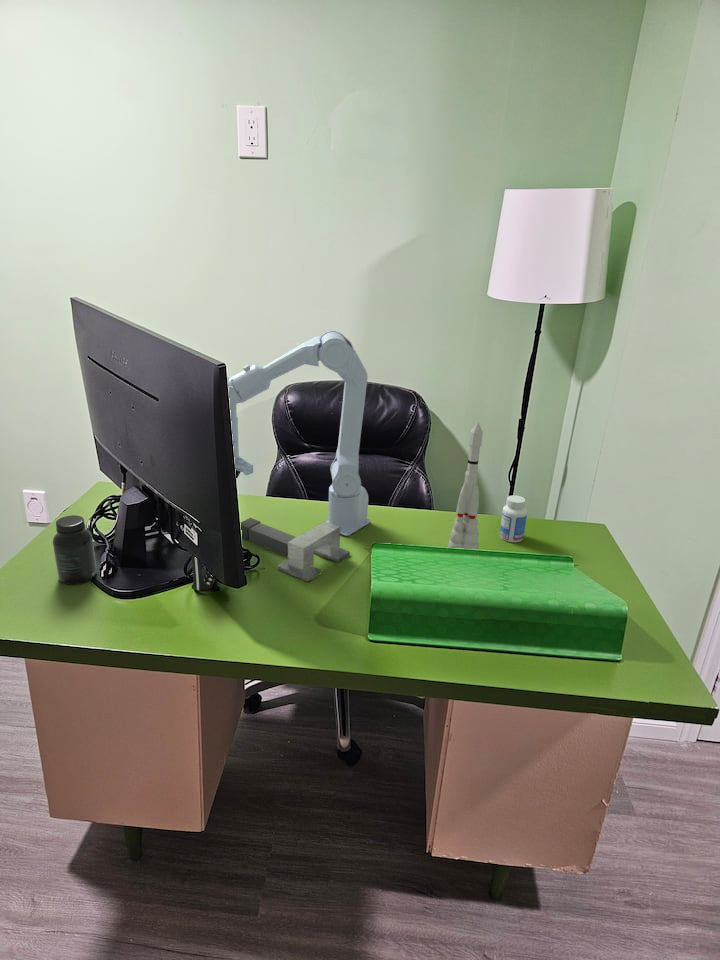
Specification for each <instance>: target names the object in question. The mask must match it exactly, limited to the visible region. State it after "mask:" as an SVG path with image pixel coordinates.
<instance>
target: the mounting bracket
mask: <svg viewBox="0 0 720 960" xmlns="http://www.w3.org/2000/svg"><path fill="white" fill-rule="evenodd" d="M326 521H327V520H325V521H323V522H321V523H320V524H317V525H316V526H314V527H312V528H310V529H309V530H307V531H305V532H303V533H301V534H300V535H298V536H295V537H296V538H294V539H293V540H291V541H289V542H288V556H287V559H286V560H285V561H283V562H281V563H279V564H278V565H277V566H276V570H278V571H280V572H282V571H283V573H285V572H286V573H285V574H287V573H288V574H287V575H289V574H290V576H292V577H294V576H295V577H294V578H296V577H297V578H296V579H299V578H300V579H299V580H301V579H302V580H301V581H303V580H304V581H303V582H305V581H310V580H311V581H312V579H313V578H314V579H316V578H317V577H319V576H320V575H321V574H322V570H321V569H319V568H316V567H315V566H314V563H315V562H314V559H315V558H314V557H315V555H317V556H320V557H322V556H323V558H325V559H327V558H329V559H328V560H330V559H331V560H330V561H332V560H334V561H333V562H335V561H336V562H335V563H337V562H338V563H339V561H340V562H341V561H343V560H345V559H346V558H347V557H349V556H350V554H351V552H350V550H347V549H344V548H342V547H340V546H341V534H340V526H337V525H335V524H332V523H329V522H326ZM342 559H343V560H342ZM320 573H321V574H320ZM319 574H320V575H319ZM318 575H319V576H318ZM316 576H317V577H316ZM315 577H316V578H315ZM314 579H313V580H314ZM311 581H310V582H311Z"/></svg>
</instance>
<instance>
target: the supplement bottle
mask: <svg viewBox="0 0 720 960" xmlns="http://www.w3.org/2000/svg"><path fill="white" fill-rule="evenodd" d="M55 526H56V528H55V529H56V534H54V536H53V538H52V545H53V546H52V547H53V551H54V557H55V558H54V559H55V564H56V570H57V576H58V579H59V581H60V582H61V583H62V582H63V584H65V585H68V584H69V585H70V586H76V584H77V585H83V584H85V583H88V582H90V581H92V579H91V574H92V573H93V572H94V571H95V569H97V563H96V555H95V549H94V548H95V547H94V546H95V545H94V540H93V534H92V533H91V532H90V530H88V529H87V528H86V524H85V519H84V517H83V516H81V515H76V514H75V515H73V514H72V515H71V514H70V515H67V516H66V515H65V516H62V517H60V518H59V519H57V520H56V522H55Z"/></svg>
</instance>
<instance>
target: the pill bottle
mask: <svg viewBox="0 0 720 960" xmlns="http://www.w3.org/2000/svg"><path fill="white" fill-rule="evenodd" d="M525 506H526V499H525V497H523V496H521V495H516V494H515V495H509V496H507V498H506V504H505V505H504V506H503V508H502V513H501V519H500V520H501V521H500V527H499V528H500V530H499V537H500V538H501V540H503V541H505V542H508V543H520V542H522V541H523V540H524V536H525V532H526V531H525V530H526V522H527V516H528V510H527V508H526V507H525Z"/></svg>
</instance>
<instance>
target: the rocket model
mask: <svg viewBox="0 0 720 960" xmlns="http://www.w3.org/2000/svg"><path fill="white" fill-rule="evenodd" d="M483 433H484V432H483V430H482V428H481V425H480V423H479V422H477V423H476V424H475V425H474V426H473V427H472V429H471V430H470V433H469V434H470V435H469V442H468V443H469V444H468V446H469V450H468V460H467V468H466V471H465V474H464V481H463V485H462V487H461V489H460V492H459V496H458V501H457V505H456V510H455V512H456V513H457V514H456V515H457V516H456V517H455V521H454V522H453V527H452V530H451V533H450V535H449V538H450V539H449V541H448V545H447V548H448V547H449V548H464V549H477V550H478V548H479V545H480V544H479V540H478V539H479V538H478V537H479V536H480V534H479V529H478V525H479V521H478V518H477V517H478V511H479V508H480V507H479V505H480V504H479V503H480V502H479V501H480V490H479V487H478V476H479V472H478V467H479V458H480V450H481V445H482V441H483Z"/></svg>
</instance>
